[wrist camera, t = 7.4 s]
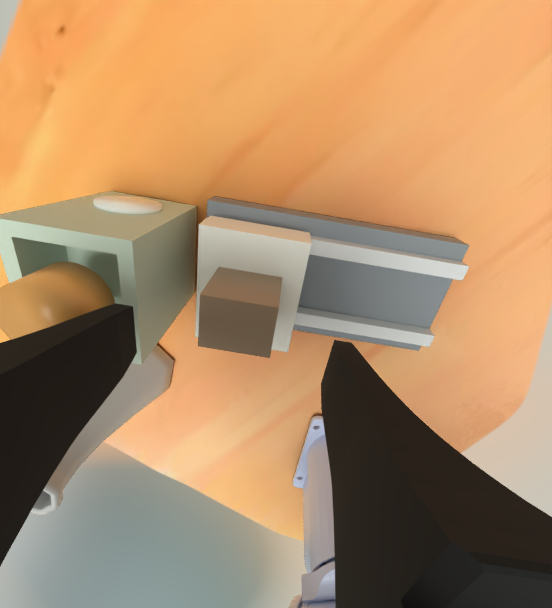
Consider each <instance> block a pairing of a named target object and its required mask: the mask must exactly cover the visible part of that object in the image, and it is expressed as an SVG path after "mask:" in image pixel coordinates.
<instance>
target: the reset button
mask: <svg viewBox="0 0 552 608" xmlns="http://www.w3.org/2000/svg"><path fill="white" fill-rule="evenodd" d="M112 304H115V300H114V297H113V294H112V292H111V290H110V288H109V286H108V285H107V284H106V282H105V281H104V280H103V279H102V278H101V277H100V276H99V275H98V274H96V273H95V272H94V271H92V270H91V269H89V268H87V267H85V266H83V265H80V264H78V263H74V262H67V261H63V262H56V263H53V264H51V265H48V266H46V267H44V268H42V269H40V270H38V271H35V272H33V273H31V274H29V275H27V276H24V277H22V278H20V279H18V280H16V281H14V282H11V283H9V284H7V285H5V286H3V287H1V288H0V328H1V329H2V330H3V332H4V333H5V334H6V335H7V336H8V337H9V338H10V339H11V340H12V339H15V338H18V337H21V336H24V335H27V334H30V333H33V332H36V331H39V330H42V329H45V328H48V327H51V326H53V325H56V324H59V323H61V322H64V321H67V320H70V319H72V318H75V317H78V316H80V315H83V314H86V313H88V312H91V311H94V310H97V309H99V308H102V307H105V306H108V305H112Z"/></svg>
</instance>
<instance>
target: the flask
mask: <svg viewBox="0 0 552 608" xmlns="http://www.w3.org/2000/svg"><path fill="white" fill-rule="evenodd" d="M173 364H174V360H173V359H172V358H171V357H169V356H168V355H167V354H166V353H165V352H164V351H163V350H162V349H161V348H160V347H159V346H158V345H156V346H155V347H154V349H153V350H152V351H151V353H150V354H149V356H148V357H147V358H146V360H145V361H144V362H143V364H142V365H140V364H134V363H131V365H130V366H129V368H128V370H127V371H126V373H125V375H124V376H123V378H122V379H121V380H120V382H119V383H118V384H117V386H116V387H115V388H114V390H113V391H112V392H111V394H110V395H109V396H108V397H107V399H106V400H105V401H104V403H103V404H102V405H101V406H100V408H99V409H98V410H97V412H96V413H95V414H94V415H93V417H92V418H91V419H90V421H89V422H88V423H87V424H86V426H85V427H84V428H83V430H82V431H81V432H80V434H79V435H78V436H77V438H76V439H75V441H74V442H73V443H72V445H71V446H70V448H69V449H68V451H67V453H66V454H65V456H64V457H63V459H62V460H61V462H60V464H59V465H58V467H57V468H56V470H55V472H54V473H53V475H52V476H51V478H50V480H49V481H48V483H47V485H46V486H45V488H44V490H43V491H42V493H41V495H40V496H39V498H38V500H37V501H36V503H35V505H34V506H33V508H32V510H31V512H30V513H32V514H37V515H41V516H43V515H45V514H47V513H49V512H51V511H53V510H56V509H57V508H58V507H59V505H60V504H61V502H62V499H63V489H64V488H65V486H66V484H67V483H68V482H69V480H70V479H71V477H72V476H73V475H74V473H75V472H76V470H77V469H78V467H79V466H80V465H81V464H82V463H83V462H84V461H85V460H86V459H87V458H88V457H89V456H90V455H91V453H92V452H93V451H94V450H95V449H96V448H97V447H98V446H99V445H100V444H101V443H102V442H103V441H104V440H105V439H106V438H107V437H109V436H110V435H111V434H112V433H113V432H115V431H116V430H117V429H118V428H119V427H121V426H122V425H123V424H124V423H125V422H127V421H128V420H129V419H130V418H131V417H133V416H134V415H135V414H136V413H138V412H139V411H140V410H141V409H143V408H144V407H145V406H147V405H148V404H149V403H151V402H152V401H153V400H154V399H156V398H157V397H158V396H160V395H161V394H162V393H163V392H165V391H166V390H167V389H168V388H169V386H170V381H171V375H172V370H173Z"/></svg>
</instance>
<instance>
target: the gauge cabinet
mask: <svg viewBox="0 0 552 608" xmlns="http://www.w3.org/2000/svg"><path fill="white" fill-rule="evenodd" d="M196 222H197V206H195V205H189V204H183V203H177V202H172V201H166V200H160V199H154V198H148V197H143V196H137V195H131V194H125V193H120V192H114V191H108V192H104V193H99V194H94V195H90V196H85V197H80V198H75V199H71V200H66V201H61V202H57V203H52V204H47V205H42V206H38V207H33V208H28V209H24V210H19V211H14V212H9V213H5V214H0V254H1V257H2V261H3V264H4V267H5V271H6V274H7V277H8V281H9V283H11V282H14V281H16V280H18V279H20V278H22V277H24V276H27V275H29V274H31V273H33V272H35V271H38V270H40V269H42V268H44V267H46V266H48V265H51V264H53V263H56V262H63V261H67V262H74V263H78V264H80V265H83V266H85V267H87V268H89V269H91V270H92V271H94V272H95V273H96V274H98V275H99V276H100V277H101V278H102V279H103V280H104V281H105V282H106V284H107V285H108V286H109V288H110V290H111V292H112V294H113V297H114V300H115V304H116V303H117V304H122V305H128V306H133V311H134V323H135V335H136V347H137V354H136V355H135V357H134V359H133V361H132V363H134V364H140V365H142V364H143V362H144V361H145V360H146V358H147V357H148V356H149V354H150V353H151V351H152V350H153V349H154V347H155V346H156V345H157V343H158V342H159V340H160V339H161V338H162V336H163V335H164V334H165V332H166V331H167V329H168V328H169V327H170V325H171V324H172V323H173V321H174V320H175V318H176V317H177V316H178V314H179V313H180V312H181V310H182V309H183V307H184V306H185V305H186V303H187V302H188V301H189V299H190V298H191V296H192V295H193V294H194V292H195V259H196Z"/></svg>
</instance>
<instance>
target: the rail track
mask: <svg viewBox="0 0 552 608" xmlns="http://www.w3.org/2000/svg"><path fill="white" fill-rule="evenodd" d="M209 216H217V217H223V218H228V219H234V220H240V221H246V222H252V223H257V224H263V225H269V226H275V227H281V228H286V229H292V230H298V231H304V232H310V237H311V243H312V244H311V249H310V253H309V258H308V262H307V267H306V272H305V276H304V281H303V285H302V290H301V294H300V299H299V304H298V308H297V313H296V317H295V322H294V327H293V330H297V331H303V332H309V333H315V334H321V335H327V336H333V337H339V338H345V339H351V340H357V341H363V342H369V343H375V344H381V345H387V346H393V347H399V348H405V349H411V350H417V351H419V349H420V347H421V346H427V347H430V345H431V342H432V340H433V338H434V334H433V333H432V332H431V330H430V329H429V328H430V326H431V324H432V322H433V320H434V318H435V316H436V314H437V312H438V310H439V307H440V305H441V303H442V301H443V299H444V297H445V295H446V293H447V291H448V289H449V287H450V284H451V282H452V280H453V279H456V280H463V278H464V276H465V274H466V272H467V270H468V268H469V266H468V265H466V264H465V263H463V262H462V259H463V257H464V255H465V253H466V251H467V249H468V247H469V245H468V244H466V243H464V242H462V241H460V240H458V239H456V238H453V237H447V236H441V235H435V234H430V233H424V232H418V231H412V230H407V229H401V228H395V227H389V226H383V225H378V224H372V223H366V222H360V221H355V220H349V219H343V218H337V217H332V216H326V215H320V214H314V213H309V212H303V211H297V210H291V209H286V208H280V207H274V206H268V205H263V204H257V203H251V202H245V201H239V200H234V199H228V198H222V197H216V196H214V197H212V198H211V199H209V200H208V202H207V218H208V217H209ZM207 218H205V219H207ZM205 219H204V220H205ZM204 220H203V221H204Z"/></svg>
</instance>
